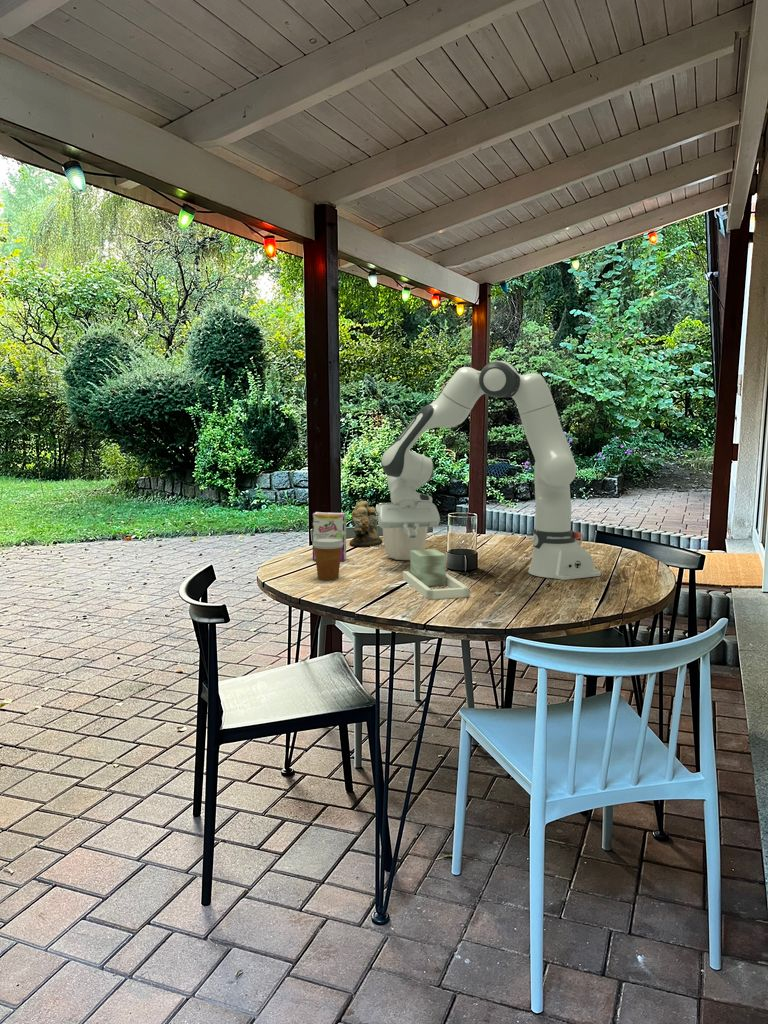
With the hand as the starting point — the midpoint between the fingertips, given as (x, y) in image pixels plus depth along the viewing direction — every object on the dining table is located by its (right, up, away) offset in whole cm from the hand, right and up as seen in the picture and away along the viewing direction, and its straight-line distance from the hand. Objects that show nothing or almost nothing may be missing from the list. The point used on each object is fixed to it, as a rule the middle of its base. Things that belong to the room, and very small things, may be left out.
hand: (412, 536), depth 230 cm
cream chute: (+5, -14, -20) cm, 25 cm away
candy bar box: (-28, -9, +19) cm, 35 cm away
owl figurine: (-16, -5, +50) cm, 53 cm away
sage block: (+4, -13, -14) cm, 20 cm away
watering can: (-2, -8, +24) cm, 26 cm away
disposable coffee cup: (-26, -13, -8) cm, 30 cm away
